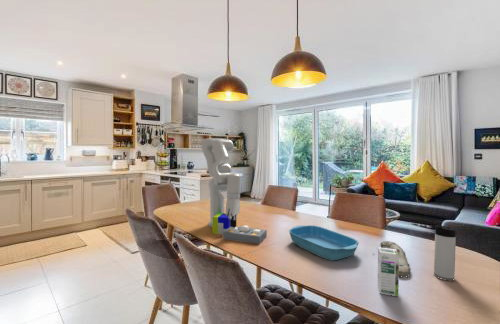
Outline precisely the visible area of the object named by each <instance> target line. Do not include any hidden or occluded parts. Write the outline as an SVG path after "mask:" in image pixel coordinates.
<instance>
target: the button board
mask: <svg viewBox="0 0 500 324" xmlns="http://www.w3.org/2000/svg"><path fill="white" fill-rule="evenodd" d="M236 227H237V228H238V230H237V231H230V227H229V228H228V229H226V230H225V231H223V234H222V240H229V241H235V242H243V243H249V244H250V243H251V244H258V245H260V244H262V243H263V241H264V240H265V239H266V238H267V237H268V236H267V232H268V230H267V229H261V228H258V229H259V230H260V234H254V233H253V230H254V229H255V228H254V227H253V228H252V227H249V232H248V233H246V232H241V226H237V225H236Z"/></svg>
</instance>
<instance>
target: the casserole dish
mask: <svg viewBox="0 0 500 324" xmlns="http://www.w3.org/2000/svg"><path fill="white" fill-rule="evenodd" d="M288 232H289V235H290V239H291V241H292V242H293V243H294V244H295V245H296V246H299V247H300V248H302V249H303V250H306V251H308V252H310V253H312V254H314V255H316V256H319V257H320V256H321V257H320V258H323V259H325V258H326V259H325V260H328V259H329V260H328V261H339V259H340V260H342V258H343V259H346V258H348V257H351V256H352V255H354V253H356V250H357V249H358V245H359V243H360V242H359V240H357V239H356V238H353V237H351V236H348V235H345V234H342V233H339V232H337V231H334V230H331V229H328V228H325V227H323V226H318V225H311V224H310V225H296V226H293V227H292V228H290V229H289V230H288ZM345 257H346V258H345Z"/></svg>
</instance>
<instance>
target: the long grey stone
mask: <svg viewBox="0 0 500 324" xmlns="http://www.w3.org/2000/svg"><path fill="white" fill-rule="evenodd" d="M380 247H381V248H388V249H396V250H397V252H398V254H399V276H402V277H401V278H403V277H405V278H407V277H406V276H408V277H409V276H410V274H411V268H410V263H409V262H408V258H407V256H406V252H405V250H403V248H401V246H400V245H399V244H397V243H396V242H394V241H390V240H383V241H381V242H380Z"/></svg>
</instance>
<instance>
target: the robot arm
mask: <svg viewBox="0 0 500 324" xmlns="http://www.w3.org/2000/svg"><path fill="white" fill-rule="evenodd" d="M234 148H235V147H234V143H233V141H232V140H230V139H228V138H217V137H215V138H213V137H210V138H204V139H203V140H202V142H201V150H202V153H203V155H204V158H205V160H206V165H207V172H208V175H209V177H210V178H211V179H210V180H209V181H208V189H209V190H208V191H209V200H210V202H209V210H210V211H209V214H210V215H209V216H210V219H209V222H208V223H207V226H208V227H211V228H213V216H215V215H216V214H217V213H226V216H228V215H229V217H228V218H229V219H230V227H236V226H237V220H238V215H239V213H240V210H241V202H240V199H241V176H240V174H238V173H236V172H233V170H232V167H231V165H230V164H229V163H228V162H229V161H230V157H229V154H228V153H232V152H234ZM222 192H223V193H224V192H226V205H225V197H224V195H223V193H222Z"/></svg>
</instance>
